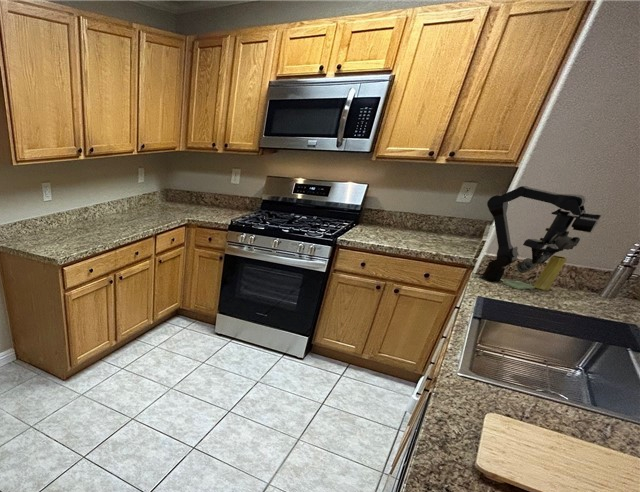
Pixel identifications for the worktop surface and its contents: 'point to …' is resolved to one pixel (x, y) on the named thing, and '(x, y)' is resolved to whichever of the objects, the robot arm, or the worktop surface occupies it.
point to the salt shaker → (530, 263)
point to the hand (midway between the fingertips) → (537, 263)
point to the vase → (550, 272)
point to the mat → (518, 285)
